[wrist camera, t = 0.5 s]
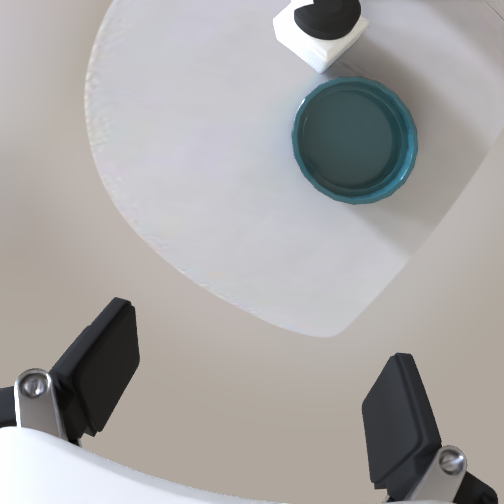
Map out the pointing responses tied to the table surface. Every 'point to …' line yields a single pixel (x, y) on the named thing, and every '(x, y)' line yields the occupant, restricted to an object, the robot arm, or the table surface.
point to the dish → (354, 140)
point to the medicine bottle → (320, 29)
